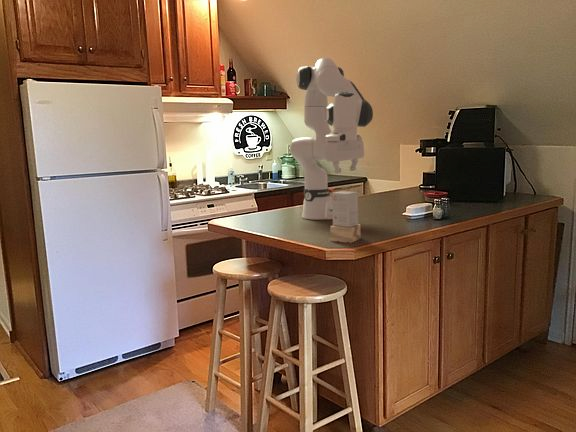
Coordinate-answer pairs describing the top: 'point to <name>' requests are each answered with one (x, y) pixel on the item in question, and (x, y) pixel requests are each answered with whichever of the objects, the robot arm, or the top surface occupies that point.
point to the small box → (345, 208)
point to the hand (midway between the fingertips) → (345, 171)
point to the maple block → (345, 233)
